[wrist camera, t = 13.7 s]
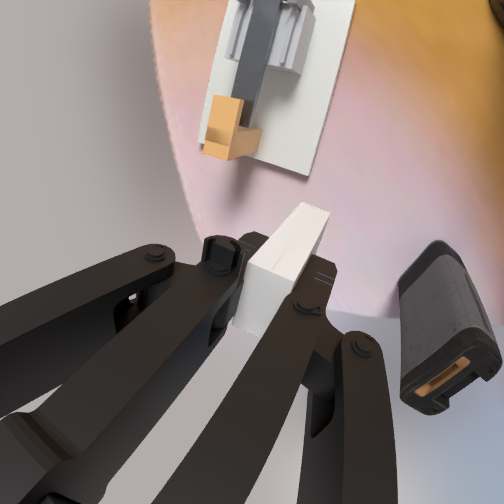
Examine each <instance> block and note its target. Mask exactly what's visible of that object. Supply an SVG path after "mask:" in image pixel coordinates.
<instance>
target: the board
mask: <svg viewBox="0 0 504 504" xmlns="http://www.w3.org/2000/svg"><path fill="white" fill-rule="evenodd" d="M254 3H255V0H229V4H228V7H227V11H226V14H225V18H224V22H223V25H222V29H221V33H220V37H219V41H218V45H217V49H216V53H215V58H214V62H213V66H212V71H211V75H210V80H209V84H208V89H207V94H206V99H205V104H204V109H203V114H202V119H201V125H200V130H199V136H198V141H197V142H198V143H202V144H204V142H205V136H206V131H207V125H208V120H209V115H210V110H211V105H212V100H213V96H214V95H221V96H227V97H231V94H232V89H233V85H234V81H235V76H236V72H237V68H238V64H239V60H240V56H241V52H242V48H243V44H244V40H245V36H246V32H247V29H248V25H249V21H250V17H251V14H252V10H253V7H254ZM355 5H356V3H355V0H287V2H285V1H283V4H282V8H281V11H280V15H279V19H278V23H277V26H276V30H275V34H274V38H273V41H272V45H271V49H270V53H269V57H268V61H267V65H266V69H265V73H264V77H263V81H262V85H261V89H260V93H259V97H258V101H257V105H256V110H255V114H254V118H253V122H252V127H255V128H259V129H262V132H261V136H260V141H259V145H258V149H257V152H254V153H250V154H247V155H245V156H248V157H251V158H255V159H258V160H261V161H264V162H267V163H270V164H274V165H277V166H280V167H283V168H286V169H289V170H292V171H295V172H297V173H300V174H303V175H306V176H309V175H310V172H311V169H312V165H313V162H314V159H315V155H316V152H317V149H318V145H319V142H320V138H321V135H322V131H323V128H324V124H325V121H326V117H327V114H328V110H329V106H330V103H331V99H332V96H333V92H334V88H335V84H336V81H337V77H338V73H339V69H340V66H341V62H342V58H343V54H344V50H345V46H346V42H347V38H348V34H349V30H350V26H351V22H352V18H353V14H354V10H355Z"/></svg>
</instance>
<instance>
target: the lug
mask: <svg viewBox="0 0 504 504" xmlns="http://www.w3.org/2000/svg"><path fill="white" fill-rule="evenodd" d="M243 104H244V100H242V99H237V98H232V97H227V96H221V95H214V96H213V100H212V105H211V110H210V115H209V120H208V125H207V131H206V136H205V142H204V147H203V153H202V154H206V155H209V156H213V157H216V158H219V159H223V160H226V161H228V160H231V159H234V158H237V157H241V156H244V155H247V154H250V153H254V152H257V149H258V145H259V141H260V136H261V132H262V129H259V128H255V127H252V126H251V128H246V127H242V126H239V122H240V117H241V113H242V108H243Z"/></svg>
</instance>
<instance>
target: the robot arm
mask: <svg viewBox="0 0 504 504" xmlns="http://www.w3.org/2000/svg"><path fill="white" fill-rule="evenodd" d="M489 1H490V4H491V7H492V9H493V11H494V13H495V15H496V17H497V19H498V21H499V22H500V24H501V25H502V27H503V28H504V0H489ZM329 216H330V212H327V211H325V210H322V209H319V208H317V207H314V206H312V205H309V204H307V203H304V202H301V203H300V205H299V206H298V207H297V208H296V209H295V210H294V211H293V212H292V213H291V215H290V216H289V217H288V218H287V219H286V220H285V221H284V222H283V223H282V224H281V226H280V227H279V228H278V229H277V230H276V231H275V232H274V233H273V234H272V235H271V237H267V236H265V235H262V234H260V233H257V232H255V231H254V232H250V233H247V234H244V235H243V236H242V237H241V238H240V239H239V240H236V239H234V238H231V237H227V236H221V235H215V236H209V237H207V238H205V239H204V246H203V252H202V259H201V262H199V263H198V264H197V265H189V264H185V263H180V262H176V261H175V253H174V251H173V250H172V249H171V248H169V247H167V246H165V245H161V244H148V245H144V246H141V247H139V248H136V249H134V250H131V251H128V252H126V253H123V254H121V255H118V256H116V257H113V258H110V259H108V260H106V261H103V262H101V263H98V264H96V265H93V266H91V267H88V268H86V269H84V270H81V271H79V272H76V273H74V274H71V275H69V276H67V277H64V278H62V279H60V280H58V281H55V282H53V283H50V284H48V285H46V286H44V287H41V288H39V289H37V290H35V291H32V292H30V293H28V294H25V295H23V296H21V297H19V298H17V299H14V300H12V301H10V302H8V303H6V304H4V305H2V306H0V418H2V417H4V416H5V415H7V414H9V413H11V412H13V411H15V410H17V409H18V408H20V407H22V406H24V405H26V404H27V403H29V402H31V401H33V400H35V399H36V398H38V397H40V396H42V395H44V394H45V393H47V392H49V391H51V390H52V389H54V388H56V387H58V386H59V385H61V384H62V385H61V386H60V387H59V388H58V389H57V390H56V391H55V392H54V393H53V394H52V395H51V396H50V397H49V398H48V399H47V400H46V401H45V402H44V403H42V404H41V405H40V406H39V407H38V408H37V409H36V410H34V411H32V412H30V413H25V412H15V413H12V414H9V415H7V416H6V417H4V418H3V419H1V420H0V504H98V503H99V502H100V500H101V499H102V498H103V496H104V494H105V491H106V487H107V485H108V483H109V482H110V480H111V479H112V478H113V477H114V475H115V474H116V473H117V472H118V470H119V469H120V468H121V467H122V466H123V464H124V463H125V462H126V461H127V459H128V458H129V457H130V456H131V455H132V453H133V452H134V451H135V450H136V448H137V447H138V446H139V445H140V443H141V442H142V441H143V440H144V438H145V437H146V436H147V435H148V433H149V432H150V431H151V430H152V428H153V427H154V426H155V424H156V423H157V422H158V421H159V419H160V418H161V417H162V416H163V414H164V413H165V412H166V410H167V409H168V408H169V407H170V405H171V404H172V403H173V402H174V400H175V399H176V398H177V396H178V395H179V394H180V393H181V391H182V390H183V389H184V387H185V386H186V385H187V383H188V382H189V381H190V379H191V378H192V377H193V376H194V374H195V373H196V372H197V370H198V369H199V368H200V366H201V365H202V364H203V362H204V361H205V360H206V358H207V357H208V356H209V354H210V353H211V352H212V350H213V349H214V348H215V346H216V345H217V344H218V342H219V341H220V340H221V338H222V337H223V336H224V334H225V332H226V329H227V325H228V322H229V321H230V320H231V318H232V317H233V316H234V318H233V321H232V325H234V326H236V327H238V328H240V329H242V330H244V331H246V332H248V333H250V334H253V335H255V336H257V337H259V338H261V340H260V341H259V343H258V344H257V346H256V348H255V349H254V351H253V353H252V354H251V356H250V358H249V359H248V361H247V362H246V364H245V366H244V367H243V369H242V371H241V372H240V374H239V375H238V377H237V379H236V380H235V382H234V383H233V385H232V387H231V388H230V390H229V391H228V393H227V394H226V396H225V398H224V399H223V401H222V402H221V404H220V406H219V407H218V409H217V410H216V412H215V413H214V415H213V416H212V418H211V419H210V421H209V422H208V424H207V425H206V427H205V428H204V430H203V431H202V433H201V434H200V436H199V437H198V439H197V440H196V442H195V443H194V444H193V446H192V447H191V449H190V450H189V452H188V453H187V455H186V456H185V458H184V459H183V460H182V462H181V463H180V465H179V466H178V467H177V469H176V470H175V472H174V473H173V475H172V476H171V477H170V479H169V480H168V481H167V483H166V484H165V486H164V487H163V489H162V490H161V491H160V492H159V494H158V495H157V496H156V498H155V499H154V500H153V502H152V503H151V504H244V503H245V501H246V499H247V497H248V496H249V494H250V492H251V490H252V488H253V486H254V484H255V482H256V480H257V479H258V476H259V475H260V472H261V471H262V468H263V467H264V465H265V463H266V460H267V458H268V456H269V454H270V452H271V450H272V448H273V446H274V444H275V441H276V439H277V437H278V435H279V433H280V431H281V428H282V426H283V424H284V422H285V419H286V417H287V415H288V412H289V410H290V408H291V405H292V403H293V401H294V398H295V396H296V393H297V391H298V388H299V386H300V383H301V384H302V385H304V386H305V387H306V388H308V389H309V390H308V396H307V412H306V424H305V435H304V445H303V456H302V466H301V474H300V482H299V490H298V498H297V504H398V490H397V489H398V488H397V467H396V451H395V439H394V429H393V420H392V411H391V403H390V396H389V389H388V382H387V376H386V371H385V364H384V359H383V353H382V350H381V348H380V345H379V344H378V342H377V341H376V340H375V339H374V338H373V337H371V336H370V335H368V334H366V333H363V332H361V331H350V332H347V333H346V334H345V335H344V334H342V333H341V332H340V331H338V330H337V329H336V328H335V327H333V326H332V324H331V323H330V322H329V321H328V319H327V317H326V312H325V311H326V306H327V303H328V300H329V297H330V294H331V290H332V287H333V284H334V281H335V278H336V274H337V269H336V266H335V263H333V262H330V261H328V260H326V259H323V258H321V257H318V256H316V255H315V254H316V251H317V248H318V246H319V243H320V241H321V238H322V235H323V232H324V230H325V227H326V224H327V222H328V219H329ZM135 293H136V298H135V299H132V300H129V296H131V295H133V294H135Z"/></svg>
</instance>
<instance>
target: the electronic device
mask: <svg viewBox="0 0 504 504" xmlns="http://www.w3.org/2000/svg"><path fill="white" fill-rule="evenodd" d="M398 287H399V301H400V322H401V380H400V381H401V382H400V399H401V400H402V401H403V402H404V403H405V404H407V405H409V406H410V407H412V408H414V409H415V410H417V411H419V412H421V413H423V414H425V415H436V414H439V413H441V412H443V411H445V410H446V409H448V408H449V398H450V397H451V396H453V395H454V394H456V393H457V392H459V391H460V390H462V389H463V388H465V387H466V386H467V385H469V384H470V383H472V382H473V381H474V380H476V379H477V378H478V377H481V378H482V379H483V380H485V381H486V382H487V381H489V380H490V379H491V378H492V377H494V376H495V374H497V372H498V371H499V370H500V368H501V366H502V357H501V354H500V351H499V348H498V345H497V342H496V339H495V336H494V333H493V331H492V328H491V325H490V322H489V319H488V316H487V314H486V312H485V309H484V307H483V304H482V302H481V300H480V297H479V295H478V293H477V290H476V288H475V286H474V284H473V282H472V280H471V278H470V276H469V274H468V272H467V270H466V268H465V266H464V264H463V262H462V260H461V258H460V256H459V255H458V254H457V253H456V252H455V251H454V250H453V249H452V248H451V247H450V246H449V245H448V244H447V243H445V242H444V241H442V240H436V241H433V242H432V243H431V244H430V245H429V246H428V247H427V248H426V249H425V250H424V251H423V253H422V254H421V255H420V256H419V257H418V258H417V259H416V261H415V262H414V263H413V264H412V265H411V266H410V267H409V268H408V269H407V271H406V272H405V273H404V274H403V275H402V276H401V277H400V279H399V282H398Z"/></svg>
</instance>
